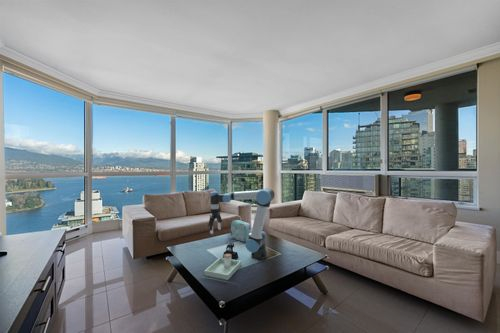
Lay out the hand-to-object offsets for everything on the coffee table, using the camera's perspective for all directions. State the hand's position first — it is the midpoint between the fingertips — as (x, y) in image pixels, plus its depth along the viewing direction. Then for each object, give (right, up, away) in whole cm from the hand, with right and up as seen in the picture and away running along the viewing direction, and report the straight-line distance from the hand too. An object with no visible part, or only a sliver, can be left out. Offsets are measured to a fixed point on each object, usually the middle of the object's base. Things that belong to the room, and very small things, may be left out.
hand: (215, 231), depth 194 cm
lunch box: (+21, -23, +44) cm, 54 cm away
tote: (+11, -23, -27) cm, 37 cm away
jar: (+13, -22, -21) cm, 33 cm away
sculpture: (+14, -23, -5) cm, 28 cm away
